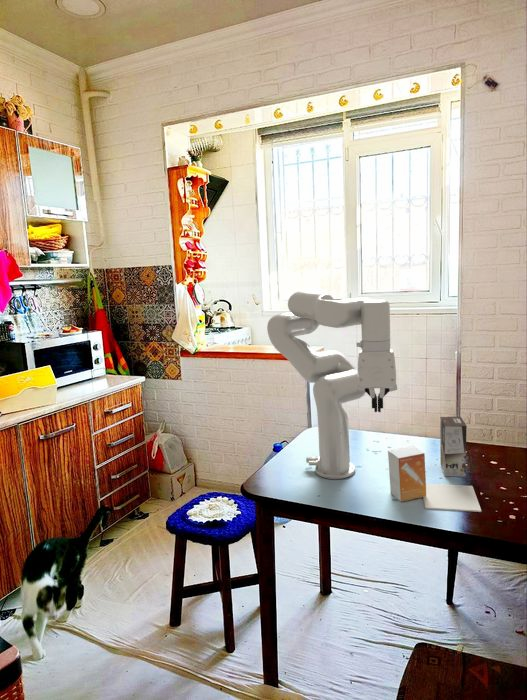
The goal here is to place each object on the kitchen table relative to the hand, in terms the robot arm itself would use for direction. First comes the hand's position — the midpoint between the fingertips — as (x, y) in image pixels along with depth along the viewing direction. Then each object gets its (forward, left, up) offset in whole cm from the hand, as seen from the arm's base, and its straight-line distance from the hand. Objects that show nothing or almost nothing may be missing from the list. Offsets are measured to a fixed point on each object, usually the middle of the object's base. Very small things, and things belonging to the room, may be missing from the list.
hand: (377, 410), depth 138 cm
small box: (+8, 0, -25) cm, 26 cm away
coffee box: (+22, +18, -25) cm, 38 cm away
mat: (+19, 0, -25) cm, 31 cm away
